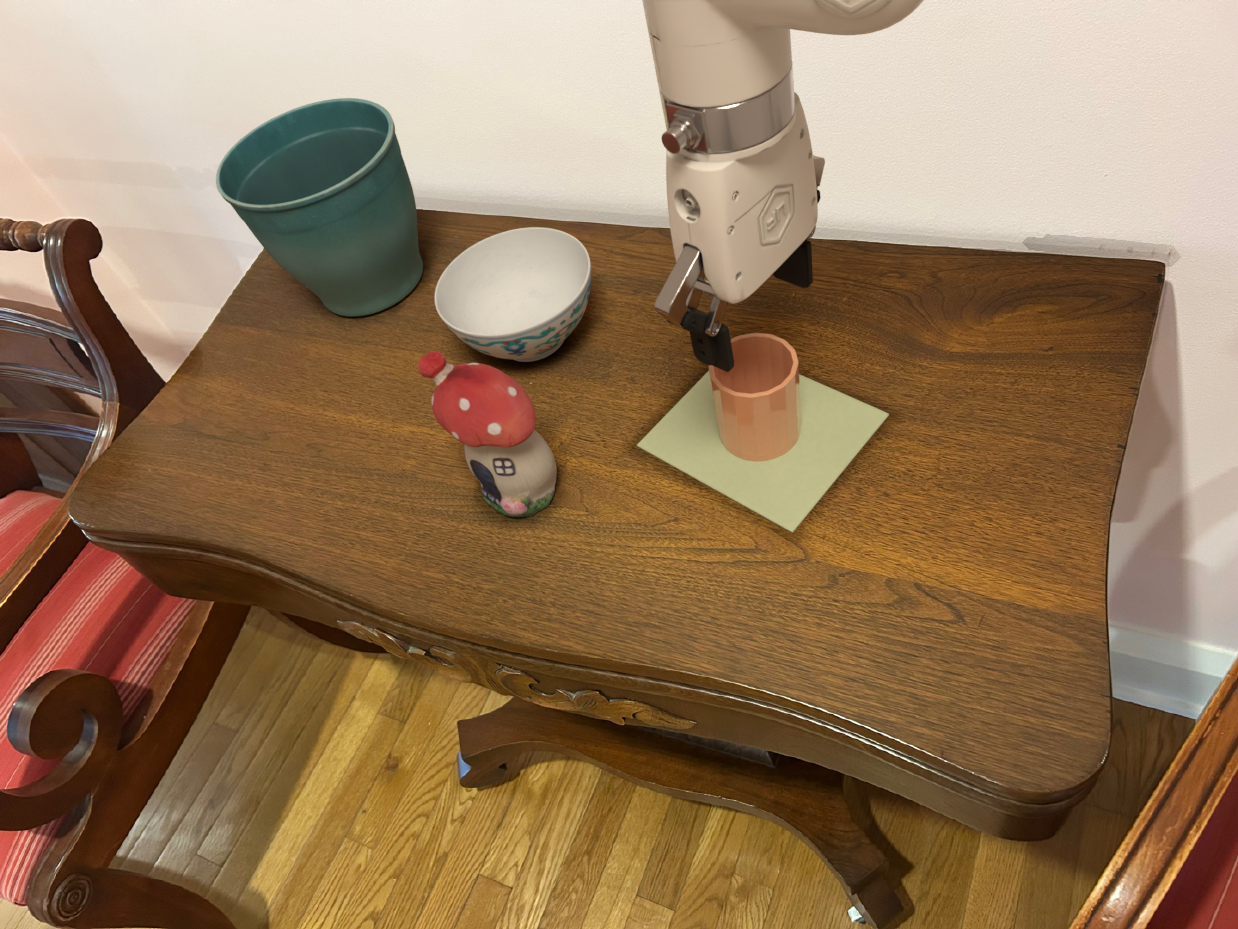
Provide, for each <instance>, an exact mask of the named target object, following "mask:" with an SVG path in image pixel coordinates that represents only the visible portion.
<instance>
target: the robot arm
mask: <svg viewBox="0 0 1238 929" xmlns="http://www.w3.org/2000/svg"><path fill="white" fill-rule="evenodd" d="M641 1H642V6H643V11H644V12H643V13H644V16H645V22H646V27H647V33H648V38H649V44H650V49H651V54H652V59H653V66H654V70H655V75H656V82H657V85H658V91H659V92H658V93H659V97H660V102H661V107H662V113H663V118H664V124H665V130H666V131H664V132H663V133H662V135H661V142H662V145H663V148H665V150H666V152H665V153H666V154H665V160H666V161H665V175H666V176H665V180H666V199H667V211H668V212H667V213H668V220H669V221H668V222H669V229H670V237H671V238H670V239H671V243H672V249H673V254H674V259H675V264H674V266H673V268H672V270H671V271H670V273H669V275H668V277H667V279H666V280H665V283H664V284H663V286H662V288H661V290H660V292H659V294H658V296H657V298H656V300H655V302H654V304H653V307H654V311H656V313H657V314H658V315H659V316H661V317H662V318H664V320H666V322H667V323H668V324H671V325H672V326H675V327H678V328H680V329H682V330H684V331H687V332H688V333H689V337H690V342H691V346H692V351H693V355H694V357H695V358H696V359H697V360H698V361H699V362H700V363H702V364H705V365H706V366H709V365H712V366H715V367H717V368H719V369H721V370H724V371H726V372H729V371H730V370H731V369H732V368H733V367H734V357H733V351H732V345H731V339H732V338H731V332H730V327H729V326H727V325H726V324H724V323H723V322H724V318H725V315H726V312H727V310H728V306H729V304H733V305H734V304H735V305H736V304H738V303H742V302H743V301H744V300H746V299H748V298H749V297H750V296H752V294H754V293H755V292H756V291H757V290H758V289H759V288H760V287H761V286H763V284H764V283H766V281H767V280H768V279H769V278H770V277H771V276H773V277H774V278H775V279H777V280H781V281H783V282H786V283H789V284H791V285H794V286H797V287H800V288H802V289H808V288H810V286H811V285H813V283H814V272H813V250H812V241H810V239H812V237H813V236H814V234H815V232H816V229H817V228H816V227H817V225H816V224H817V222H818V214H819V213H818V212H819V209H818V208H819V207H818V206H819V205H818V204H819V203H820V201H821V191H820V190H819V189H818V188H819V187H820V186H821V183H822V179H823V174H824V169H825V165H826V164H825V163H826V159H825V158H824V157H822V156H818V155H817V156H816V155H814V154H813V148H812V147H813V145H812V141H811V135H810V130H809V125H808V123H807V118H806V114H805V110H804V106H803V104H802V102H801V99H800V96H799V95H798V93H797V92H796V91H795V84H794V81H795V80H794V67H793V56H792V39H791V30H794V31H800V32H807V33H814V34H822V35H831V36H861V35H868V34H872V33H876V32H880V31H882V30H885V29H888V28H890V27H892V26H895V25H897V24H899V23H900V22H902V21H903V20H904V19H906V18H907V17H909V16H910V15H911V14H913V13H914V12H915V10H916V9H918V8H919V7H920V6H921V4H923V2H924V1H925V0H641ZM705 277H706V279H705ZM703 292H704V293H707V294H709V295H711V296H712V297H713V298H712V300H711V303H710V305H709V306H710V307H709V310H708V312H706V311H703V310H700V309H698V308H699V305H700V301H701V298H702V294H703Z"/></svg>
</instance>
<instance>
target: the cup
mask: <svg viewBox="0 0 1238 929" xmlns="http://www.w3.org/2000/svg"><path fill="white" fill-rule="evenodd" d="M731 345H732V351H733V357H734V367H733V368H732V369H731V370H730V371H729V372H726V371H724V370H721V369H719V368H717V367H715V366H712V365H708V371H709V373H710V379H711V386H712V392H713V398H714V404H715V410H716V416H717V423H718V429H719V434H720V439H721V441H722V444H723V445H724V447H725V448H726V449H727V450H728V451H729V452H730V453H731V454H733V455H735V456H736V457H739V458H741V459H744V460H749V461H767V460H771V459H775V458H777V457H780V456H782V455H783V454H785V453H787V452H788V451H789V450H790V449H791V448H792V447H793V446H794V445H795V444H796V442H797V440H798V439H799V436H800V431H801V405H800V383H799V374H800V363H799V362H800V361H799V358H798V356H797V351H796V349H795V348H794V347H793V346H792V345H791V344H790V343H789V342H788V341H787V340H786V339H784V338H781V337H779V336H777V335H774V334H771V333H764V332H763V333H761V332H751V333H745V334H740V335H737V336H735V337H733V338H731Z"/></svg>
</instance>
